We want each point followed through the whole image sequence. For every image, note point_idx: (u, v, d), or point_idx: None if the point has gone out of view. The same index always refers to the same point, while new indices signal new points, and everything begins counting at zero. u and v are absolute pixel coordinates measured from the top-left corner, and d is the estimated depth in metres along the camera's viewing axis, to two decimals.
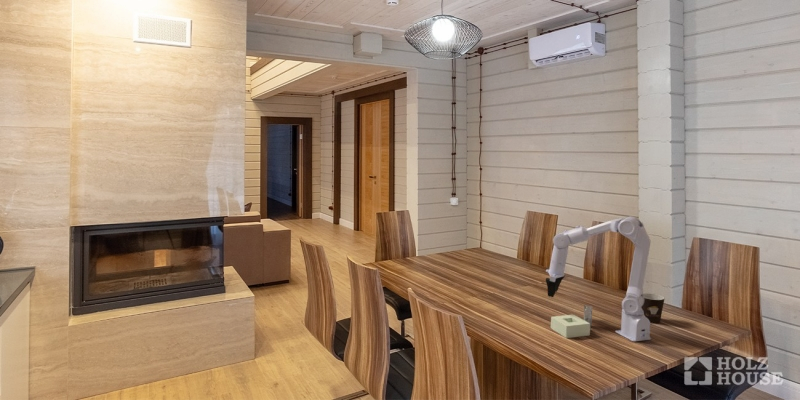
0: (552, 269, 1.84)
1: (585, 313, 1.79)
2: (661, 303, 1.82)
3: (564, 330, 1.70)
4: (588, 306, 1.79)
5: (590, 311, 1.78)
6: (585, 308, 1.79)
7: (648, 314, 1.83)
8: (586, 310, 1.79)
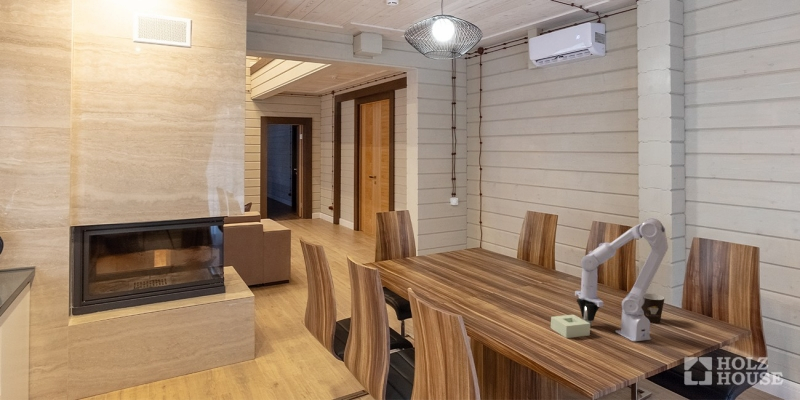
0: (590, 294, 1.76)
1: (585, 313, 1.79)
2: (661, 303, 1.82)
3: (564, 330, 1.70)
4: None
5: None
6: (585, 308, 1.79)
7: (648, 314, 1.83)
8: (586, 310, 1.79)
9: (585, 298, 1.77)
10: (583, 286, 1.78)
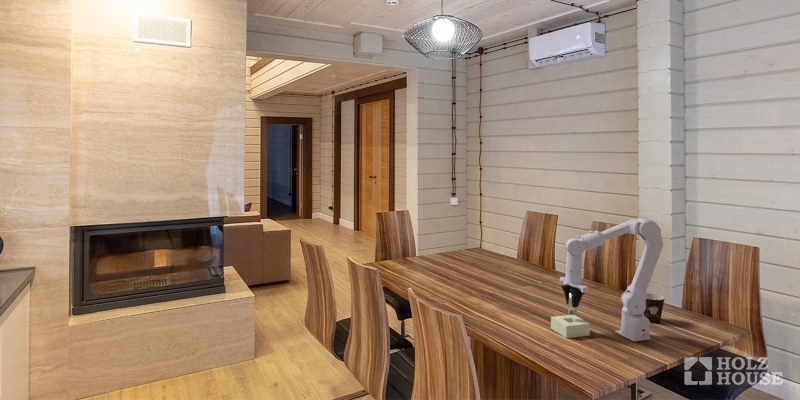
0: (574, 280, 1.71)
1: (570, 300, 1.73)
2: (661, 303, 1.82)
3: (564, 330, 1.70)
4: None
5: None
6: (570, 295, 1.73)
7: (648, 314, 1.83)
8: None
9: (569, 284, 1.71)
10: (567, 271, 1.72)
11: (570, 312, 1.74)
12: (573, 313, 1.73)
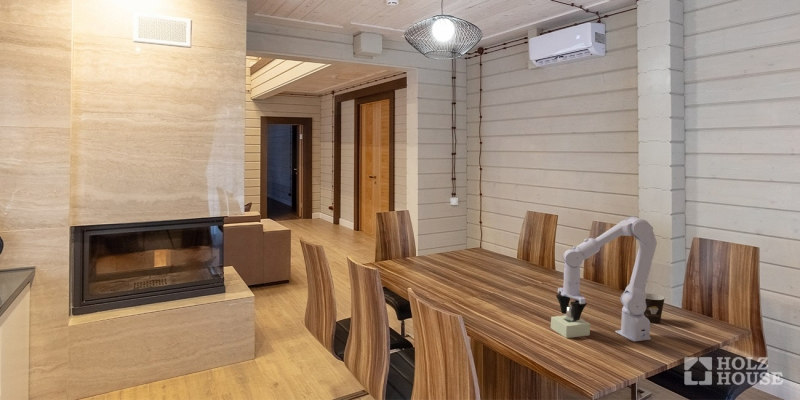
0: (572, 291, 1.70)
1: (568, 314, 1.73)
2: (661, 303, 1.82)
3: (564, 330, 1.70)
4: (571, 307, 1.74)
5: None
6: (568, 309, 1.73)
7: (648, 314, 1.83)
8: (568, 311, 1.73)
9: (567, 295, 1.71)
10: (565, 282, 1.72)
11: None
12: None
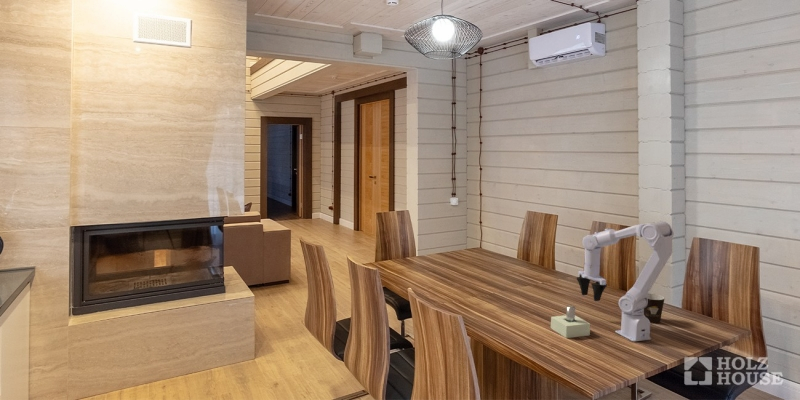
0: (593, 273, 1.80)
1: (568, 314, 1.73)
2: (661, 303, 1.82)
3: (564, 330, 1.70)
4: (571, 307, 1.74)
5: (573, 312, 1.73)
6: (568, 309, 1.73)
7: (648, 314, 1.83)
8: (568, 311, 1.73)
9: (588, 277, 1.81)
10: (586, 265, 1.82)
11: None
12: None
